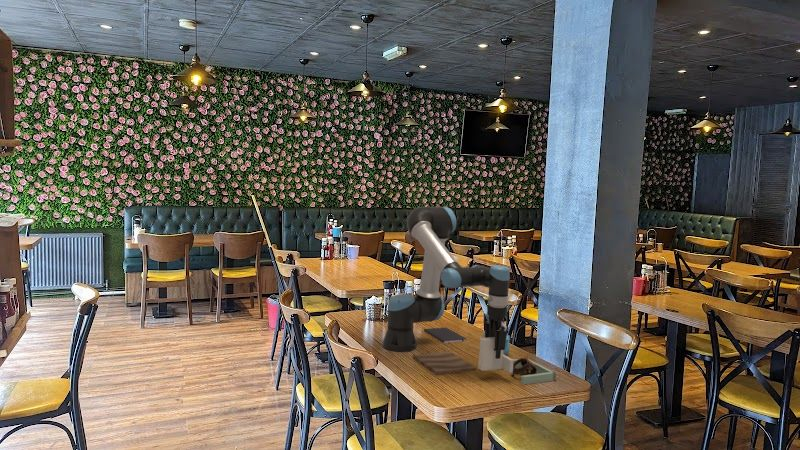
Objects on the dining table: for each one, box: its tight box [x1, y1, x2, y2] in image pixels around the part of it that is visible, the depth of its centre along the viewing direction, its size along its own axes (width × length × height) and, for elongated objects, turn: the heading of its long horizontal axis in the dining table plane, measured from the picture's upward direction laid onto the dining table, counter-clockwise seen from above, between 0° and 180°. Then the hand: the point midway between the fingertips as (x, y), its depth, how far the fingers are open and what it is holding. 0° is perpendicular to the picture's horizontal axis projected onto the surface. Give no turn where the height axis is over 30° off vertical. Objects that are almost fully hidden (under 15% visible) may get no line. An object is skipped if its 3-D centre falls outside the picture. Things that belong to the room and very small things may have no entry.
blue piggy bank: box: [482, 332, 511, 356], centre depth 251 cm, size 18×14×10 cm
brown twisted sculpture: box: [512, 357, 538, 376], centre depth 225 cm, size 12×10×8 cm
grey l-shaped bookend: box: [477, 337, 514, 374], centre depth 220 cm, size 13×10×12 cm
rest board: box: [412, 351, 477, 376], centre depth 235 cm, size 22×18×1 cm
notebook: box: [423, 327, 467, 344], centre depth 277 cm, size 13×2×21 cm
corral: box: [496, 358, 557, 386], centre depth 226 cm, size 19×16×3 cm
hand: (493, 364), depth 220 cm, fingers closed on grey l-shaped bookend, 3 cm apart
